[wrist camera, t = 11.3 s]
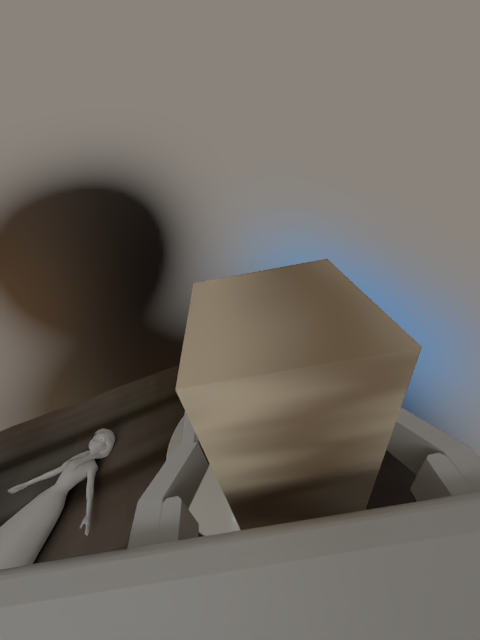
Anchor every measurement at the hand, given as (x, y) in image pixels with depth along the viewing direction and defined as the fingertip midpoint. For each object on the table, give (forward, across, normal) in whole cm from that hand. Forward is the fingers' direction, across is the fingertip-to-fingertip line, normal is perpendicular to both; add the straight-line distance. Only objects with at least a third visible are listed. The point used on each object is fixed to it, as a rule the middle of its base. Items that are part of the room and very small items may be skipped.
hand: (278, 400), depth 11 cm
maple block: (-1, 0, +6) cm, 7 cm away
